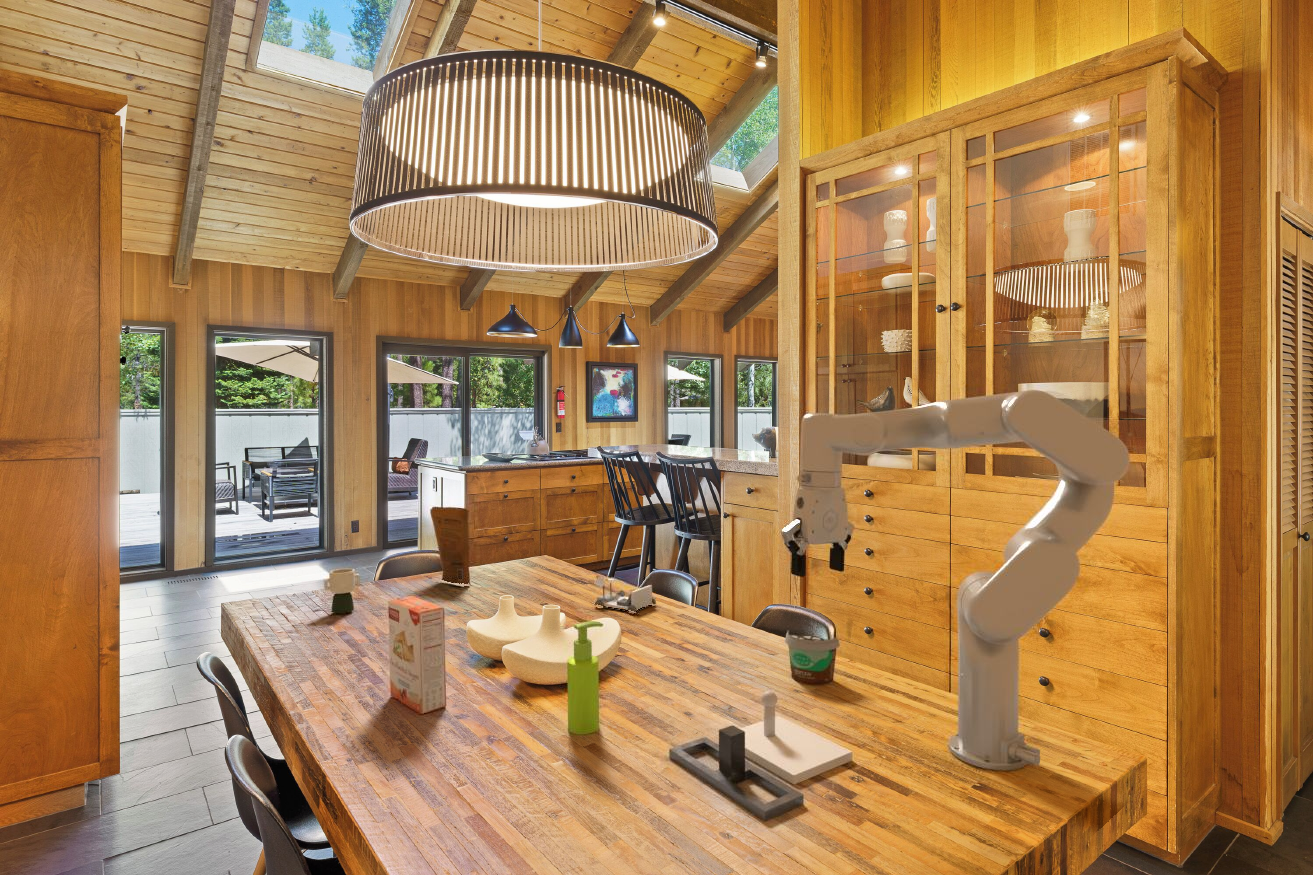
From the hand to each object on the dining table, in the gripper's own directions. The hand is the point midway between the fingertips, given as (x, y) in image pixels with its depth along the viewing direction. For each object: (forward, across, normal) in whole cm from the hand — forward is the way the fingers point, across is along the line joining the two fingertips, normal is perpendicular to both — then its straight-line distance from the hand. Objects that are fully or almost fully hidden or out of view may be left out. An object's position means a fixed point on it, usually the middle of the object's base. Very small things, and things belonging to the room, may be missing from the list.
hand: (817, 572), depth 131 cm
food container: (+31, +18, +20) cm, 40 cm away
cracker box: (+33, -59, +55) cm, 87 cm away
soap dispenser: (+32, -34, +25) cm, 53 cm away
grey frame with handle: (+31, -23, -5) cm, 39 cm away
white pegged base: (+30, -9, -3) cm, 32 cm away
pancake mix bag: (+34, -23, +157) cm, 162 cm away
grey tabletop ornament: (+33, +13, +98) cm, 104 cm away
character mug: (+35, -62, +138) cm, 155 cm away
